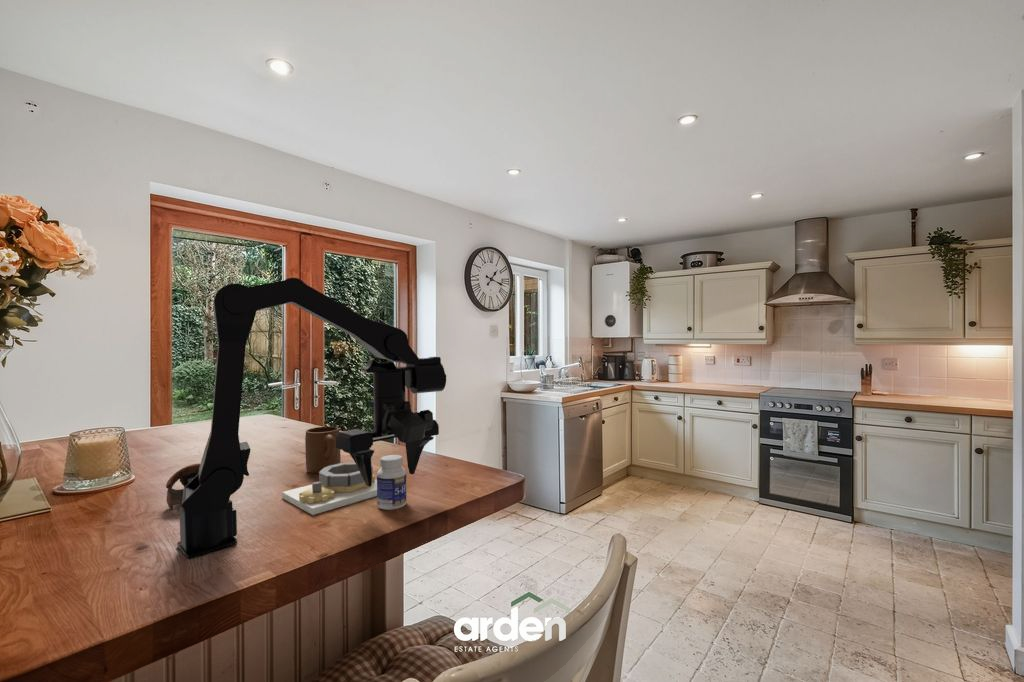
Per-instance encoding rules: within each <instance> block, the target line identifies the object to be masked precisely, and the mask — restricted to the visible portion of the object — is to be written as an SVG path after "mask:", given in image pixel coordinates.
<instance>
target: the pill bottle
mask: <svg viewBox="0 0 1024 682" xmlns="http://www.w3.org/2000/svg"><path fill="white" fill-rule="evenodd" d="M379 459H380V462H379V463H380V468H379V470H378V471H377V473H376V480H377V496H376V505H377V507H378V508H379V509H381V510H386V511H391V510H399V509H401V508H403V507H404V506H405V505H406V504H407V470H406V468H405V467H402V466H403V463H404V461H403V456H402V455H400V454H389V455H388V454H387V455H385V456H381V457H380V458H379Z"/></svg>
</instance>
